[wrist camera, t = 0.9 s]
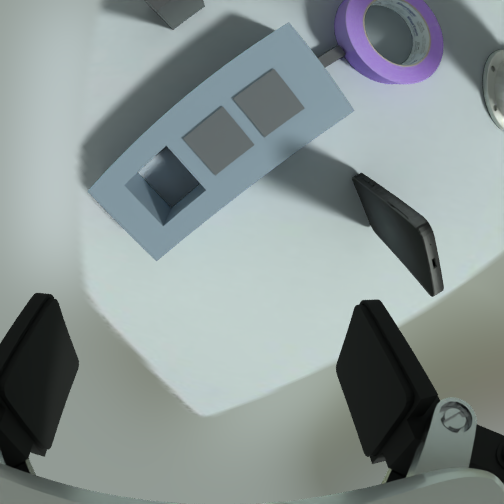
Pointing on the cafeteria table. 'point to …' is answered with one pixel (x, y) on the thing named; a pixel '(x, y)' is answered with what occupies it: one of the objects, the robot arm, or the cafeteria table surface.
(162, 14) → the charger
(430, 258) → the phone
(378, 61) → the masking tape
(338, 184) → the cafeteria table surface
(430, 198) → the cafeteria table surface
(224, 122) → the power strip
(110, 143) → the cafeteria table surface
